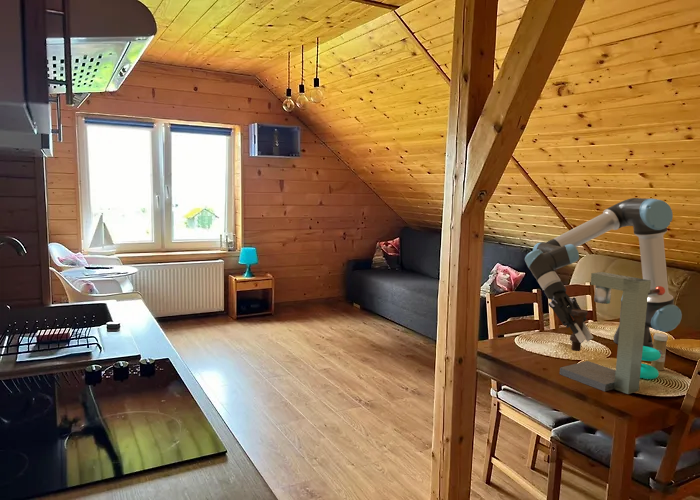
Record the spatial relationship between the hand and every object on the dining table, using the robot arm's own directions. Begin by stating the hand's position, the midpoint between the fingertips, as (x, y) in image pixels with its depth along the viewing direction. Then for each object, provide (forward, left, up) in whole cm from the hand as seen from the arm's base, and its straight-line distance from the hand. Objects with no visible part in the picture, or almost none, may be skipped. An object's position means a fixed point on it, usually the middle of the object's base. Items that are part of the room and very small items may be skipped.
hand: (586, 340), depth 189 cm
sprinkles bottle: (-31, -11, -14) cm, 36 cm away
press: (-8, +3, -13) cm, 16 cm away
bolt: (+2, -3, -5) cm, 7 cm away
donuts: (-22, -3, -14) cm, 26 cm away
